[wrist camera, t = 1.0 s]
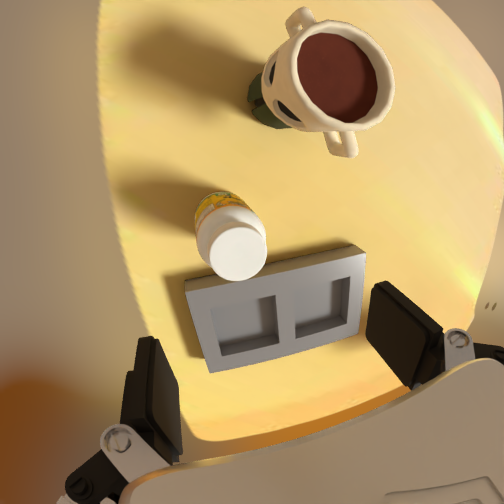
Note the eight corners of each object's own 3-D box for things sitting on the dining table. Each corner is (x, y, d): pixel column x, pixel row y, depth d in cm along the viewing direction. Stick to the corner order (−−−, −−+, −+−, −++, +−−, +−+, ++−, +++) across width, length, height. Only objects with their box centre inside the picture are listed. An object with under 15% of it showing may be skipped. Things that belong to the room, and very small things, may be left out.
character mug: (225, 59, 21) (256, -2, 10) (292, 44, 22) (363, -6, 10) (262, 160, 26) (321, 179, 14) (325, 140, 27) (413, 149, 15)
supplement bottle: (183, 223, 27) (181, 264, 18) (216, 179, 26) (231, 199, 17) (226, 252, 29) (244, 302, 20) (259, 211, 28) (292, 245, 19)
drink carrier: (184, 280, 29) (184, 292, 27) (355, 244, 32) (366, 252, 30) (207, 359, 34) (209, 373, 32) (349, 323, 37) (358, 333, 35)
